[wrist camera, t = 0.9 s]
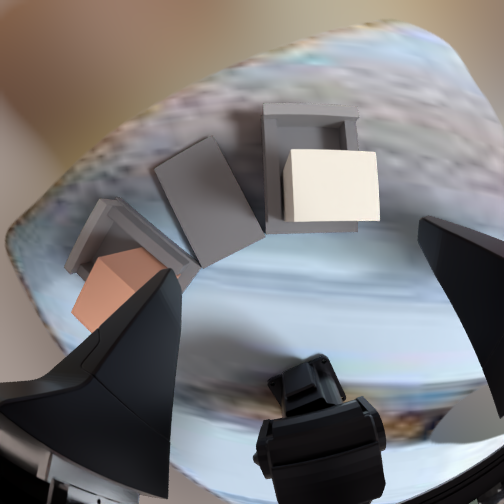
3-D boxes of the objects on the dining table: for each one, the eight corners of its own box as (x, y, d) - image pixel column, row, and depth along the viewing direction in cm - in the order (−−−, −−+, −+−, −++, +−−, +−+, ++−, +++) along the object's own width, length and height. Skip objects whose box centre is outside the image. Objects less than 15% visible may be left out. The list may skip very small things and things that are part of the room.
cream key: (342, 220, 22) (379, 220, 14) (283, 221, 23) (294, 221, 15) (340, 173, 22) (375, 152, 14) (281, 173, 22) (290, 149, 14)
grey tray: (392, 211, 23) (412, 209, 19) (126, 341, 26) (108, 357, 22) (326, 89, 22) (336, 69, 18) (72, 231, 25) (48, 233, 21)
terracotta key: (180, 274, 24) (143, 298, 16) (152, 314, 24) (111, 350, 16) (147, 246, 23) (98, 257, 15) (120, 287, 24) (71, 312, 16)
